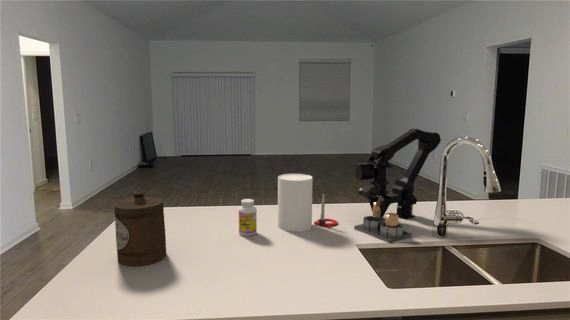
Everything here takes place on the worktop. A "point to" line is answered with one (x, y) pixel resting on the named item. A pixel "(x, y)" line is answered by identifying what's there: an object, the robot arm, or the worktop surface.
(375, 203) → the brass peg
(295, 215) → the canister
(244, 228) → the supplement bottle
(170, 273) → the worktop surface
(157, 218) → the wooden container
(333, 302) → the worktop surface
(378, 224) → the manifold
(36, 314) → the worktop surface
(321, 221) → the tow hook
